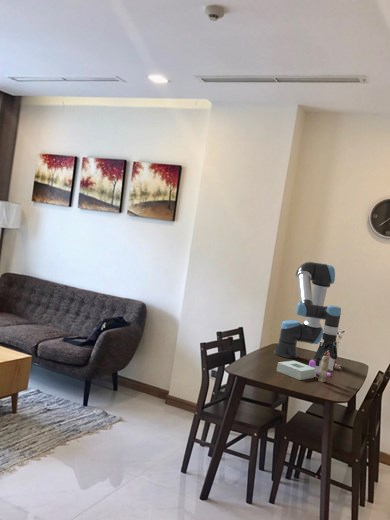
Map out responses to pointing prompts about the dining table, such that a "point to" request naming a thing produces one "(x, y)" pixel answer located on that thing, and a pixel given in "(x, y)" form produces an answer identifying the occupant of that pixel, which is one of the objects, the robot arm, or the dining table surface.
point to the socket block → (296, 370)
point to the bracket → (312, 363)
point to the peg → (323, 369)
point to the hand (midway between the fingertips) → (323, 370)
